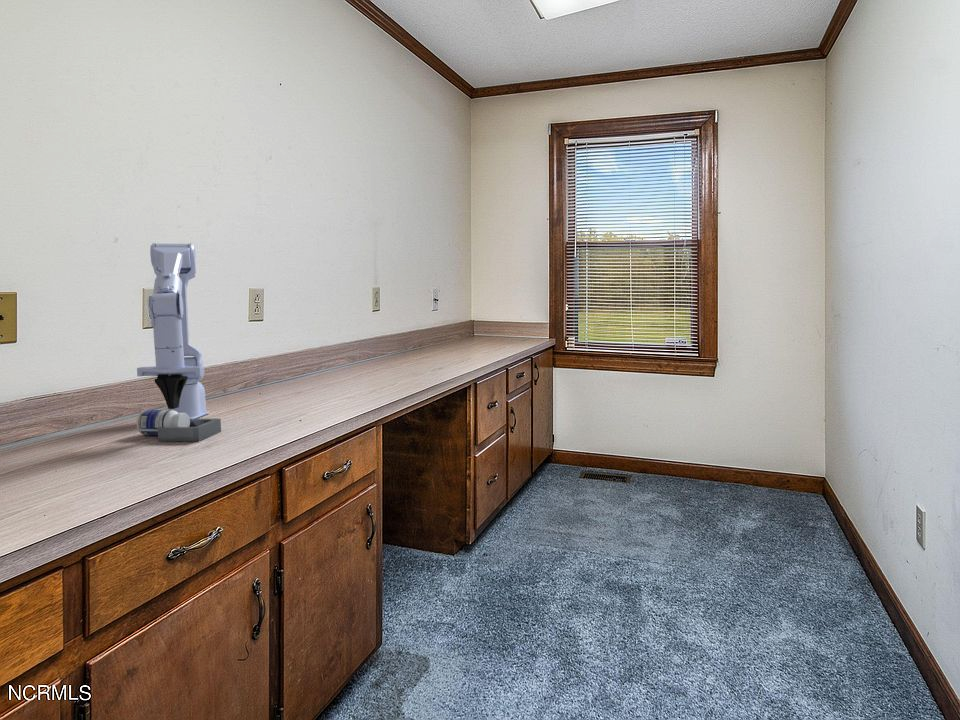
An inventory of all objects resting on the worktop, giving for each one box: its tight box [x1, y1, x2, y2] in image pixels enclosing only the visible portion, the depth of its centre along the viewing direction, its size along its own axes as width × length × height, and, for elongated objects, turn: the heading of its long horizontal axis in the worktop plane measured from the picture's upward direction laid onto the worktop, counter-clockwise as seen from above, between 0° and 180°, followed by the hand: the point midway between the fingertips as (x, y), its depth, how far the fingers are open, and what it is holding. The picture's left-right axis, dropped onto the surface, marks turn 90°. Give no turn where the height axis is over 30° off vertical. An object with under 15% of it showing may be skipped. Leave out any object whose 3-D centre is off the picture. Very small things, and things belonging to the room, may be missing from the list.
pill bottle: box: [136, 409, 190, 436], centre depth 145 cm, size 6×6×10 cm
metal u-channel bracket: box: [157, 418, 222, 443], centre depth 144 cm, size 10×9×3 cm
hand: (173, 408), depth 144 cm, fingers closed
